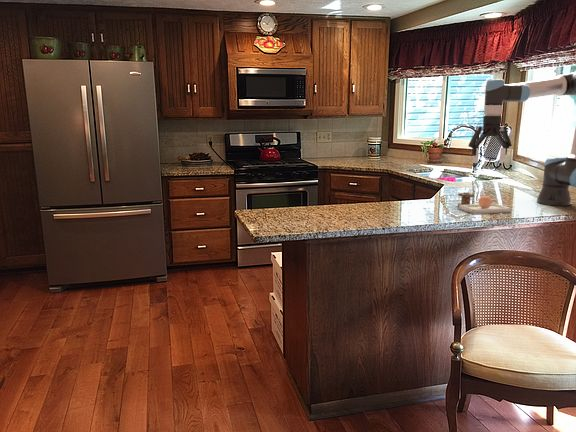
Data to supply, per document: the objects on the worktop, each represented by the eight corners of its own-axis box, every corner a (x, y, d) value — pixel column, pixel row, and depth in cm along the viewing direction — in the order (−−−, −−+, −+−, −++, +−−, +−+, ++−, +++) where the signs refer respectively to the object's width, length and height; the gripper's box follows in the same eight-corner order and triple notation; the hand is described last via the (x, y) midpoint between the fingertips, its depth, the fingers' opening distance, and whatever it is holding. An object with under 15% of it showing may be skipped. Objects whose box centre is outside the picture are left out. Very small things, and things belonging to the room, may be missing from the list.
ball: (487, 206, 233) (487, 194, 231) (494, 208, 227) (494, 196, 225) (475, 208, 232) (475, 195, 230) (482, 210, 226) (482, 197, 224)
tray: (495, 207, 237) (495, 203, 236) (510, 212, 225) (511, 208, 225) (459, 208, 233) (459, 204, 233) (472, 213, 222) (473, 209, 221)
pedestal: (467, 204, 244) (468, 192, 243) (475, 207, 237) (476, 194, 236) (455, 205, 242) (455, 192, 241) (462, 207, 236) (463, 195, 234)
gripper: (512, 115, 226) (508, 161, 231) (462, 115, 222) (459, 162, 226) (522, 115, 219) (518, 162, 223) (471, 115, 214) (468, 164, 219)
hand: (488, 162), depth 225 cm, fingers open, 13 cm apart
